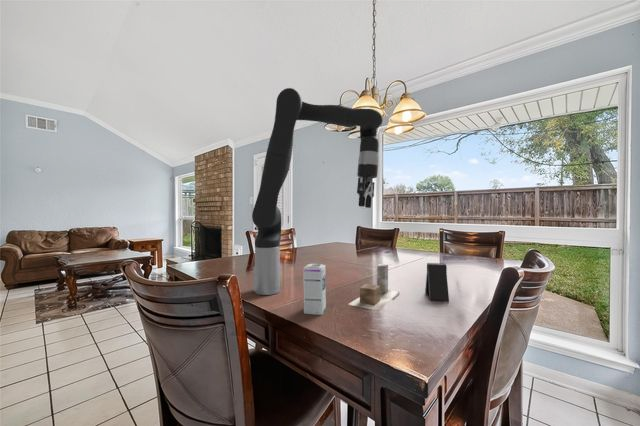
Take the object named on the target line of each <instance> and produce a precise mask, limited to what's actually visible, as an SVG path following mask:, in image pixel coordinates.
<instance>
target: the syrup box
mask: <svg viewBox="0 0 640 426" xmlns="http://www.w3.org/2000/svg"><path fill="white" fill-rule="evenodd" d="M302 270H303V273H302V275H303V276H302V277H303V279H302V280H303V285H302V286H303V313H304V314H305V315H306V314H309V315H318V316H322V315H324V313H325V312H326V309H327V288H326V287H327V282H326V281H327V280H326V278H327V276H326V273H327V272H326V271H327V270H326V264H324V263H308V264H307V265H306V266H304V267H303V269H302Z"/></svg>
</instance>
